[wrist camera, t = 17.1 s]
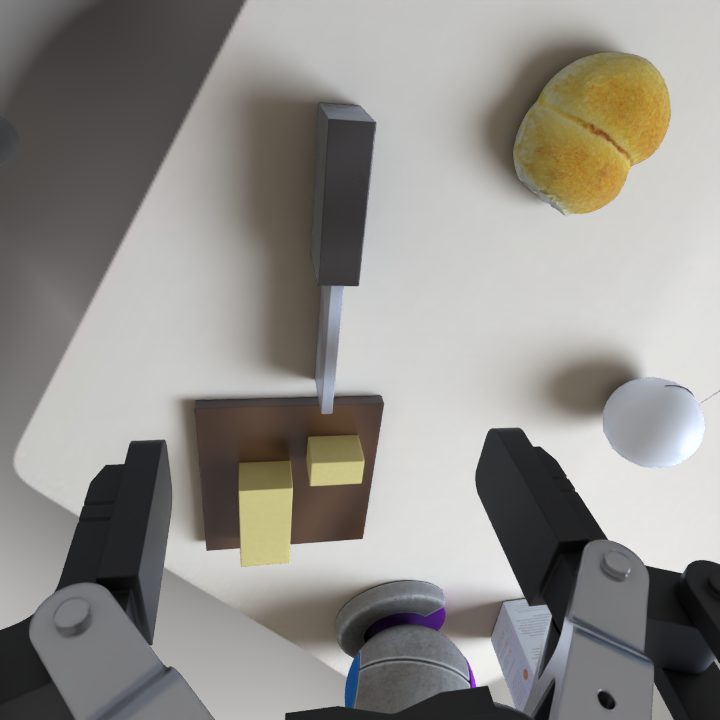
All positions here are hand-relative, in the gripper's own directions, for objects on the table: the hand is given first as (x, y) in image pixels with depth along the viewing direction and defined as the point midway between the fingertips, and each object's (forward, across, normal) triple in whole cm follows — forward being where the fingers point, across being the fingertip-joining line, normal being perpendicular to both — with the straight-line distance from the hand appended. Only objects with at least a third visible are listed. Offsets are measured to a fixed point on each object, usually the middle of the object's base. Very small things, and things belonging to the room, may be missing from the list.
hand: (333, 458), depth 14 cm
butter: (+22, +1, +26) cm, 34 cm away
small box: (+23, -29, +50) cm, 62 cm away
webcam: (+23, -13, +47) cm, 54 cm away
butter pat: (+22, -4, +20) cm, 30 cm away
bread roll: (+23, -18, -4) cm, 30 cm away
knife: (+23, -3, +5) cm, 24 cm away
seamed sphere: (+23, -31, +16) cm, 42 cm away
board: (+23, -1, +24) cm, 33 cm away
